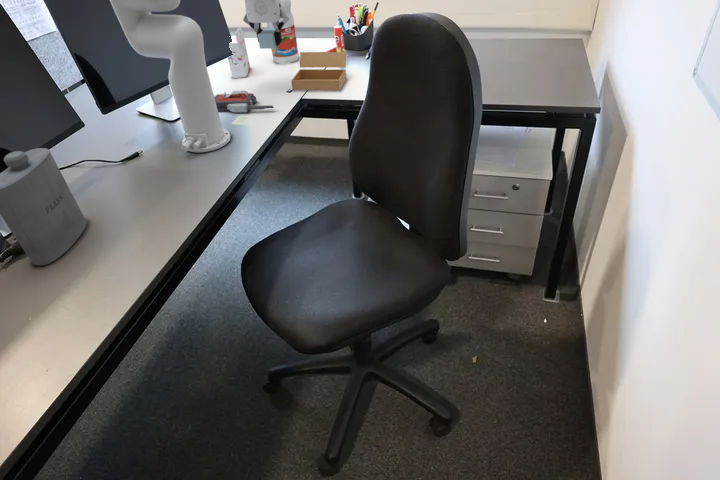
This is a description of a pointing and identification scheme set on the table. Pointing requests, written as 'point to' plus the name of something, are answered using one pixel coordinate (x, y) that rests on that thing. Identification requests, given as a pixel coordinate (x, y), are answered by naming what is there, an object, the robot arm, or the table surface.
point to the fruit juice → (286, 38)
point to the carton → (319, 79)
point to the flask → (39, 205)
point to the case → (267, 39)
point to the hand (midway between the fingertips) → (270, 43)
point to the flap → (322, 59)
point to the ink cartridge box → (238, 56)
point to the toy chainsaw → (237, 102)
